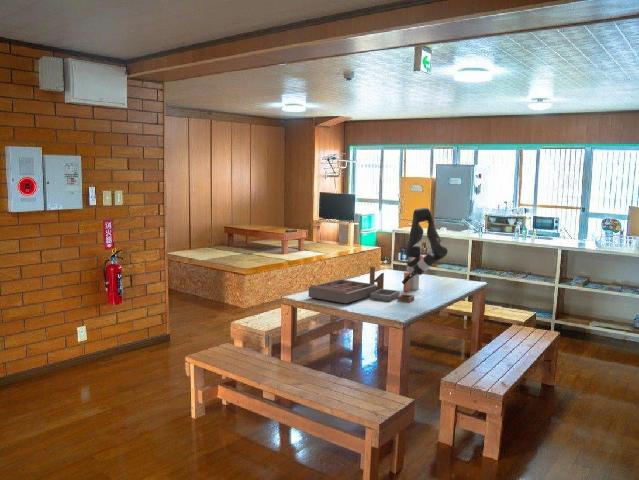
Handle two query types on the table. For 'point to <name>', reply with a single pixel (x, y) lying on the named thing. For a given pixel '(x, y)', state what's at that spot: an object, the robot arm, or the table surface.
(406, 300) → the dowel collar
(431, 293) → the table surface
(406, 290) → the dowel
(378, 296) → the tray
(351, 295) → the organizer tray
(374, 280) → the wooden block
